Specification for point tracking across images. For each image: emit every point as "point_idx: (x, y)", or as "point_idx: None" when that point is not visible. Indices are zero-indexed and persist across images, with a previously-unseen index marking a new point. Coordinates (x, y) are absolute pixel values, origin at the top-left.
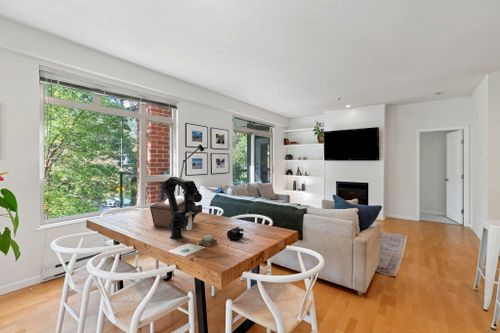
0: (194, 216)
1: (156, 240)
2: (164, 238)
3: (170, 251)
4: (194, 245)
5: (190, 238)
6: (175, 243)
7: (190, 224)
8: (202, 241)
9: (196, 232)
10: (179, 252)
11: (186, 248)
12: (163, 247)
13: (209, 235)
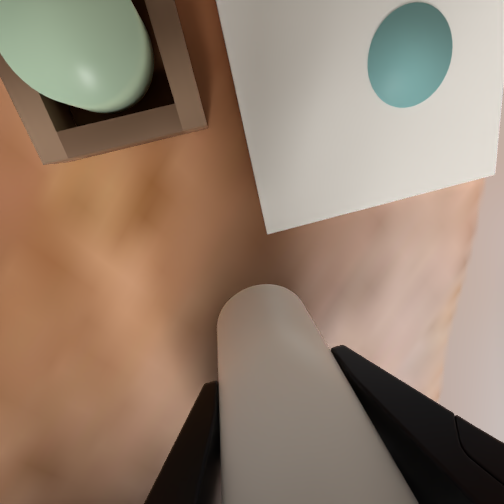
0: None
1: None
2: None
3: (484, 151)
4: (261, 125)
5: (174, 340)
6: (331, 308)
7: (289, 345)
8: (186, 47)
9: (51, 443)
10: (468, 57)
11: (363, 108)
12: (435, 287)
13: (17, 46)
